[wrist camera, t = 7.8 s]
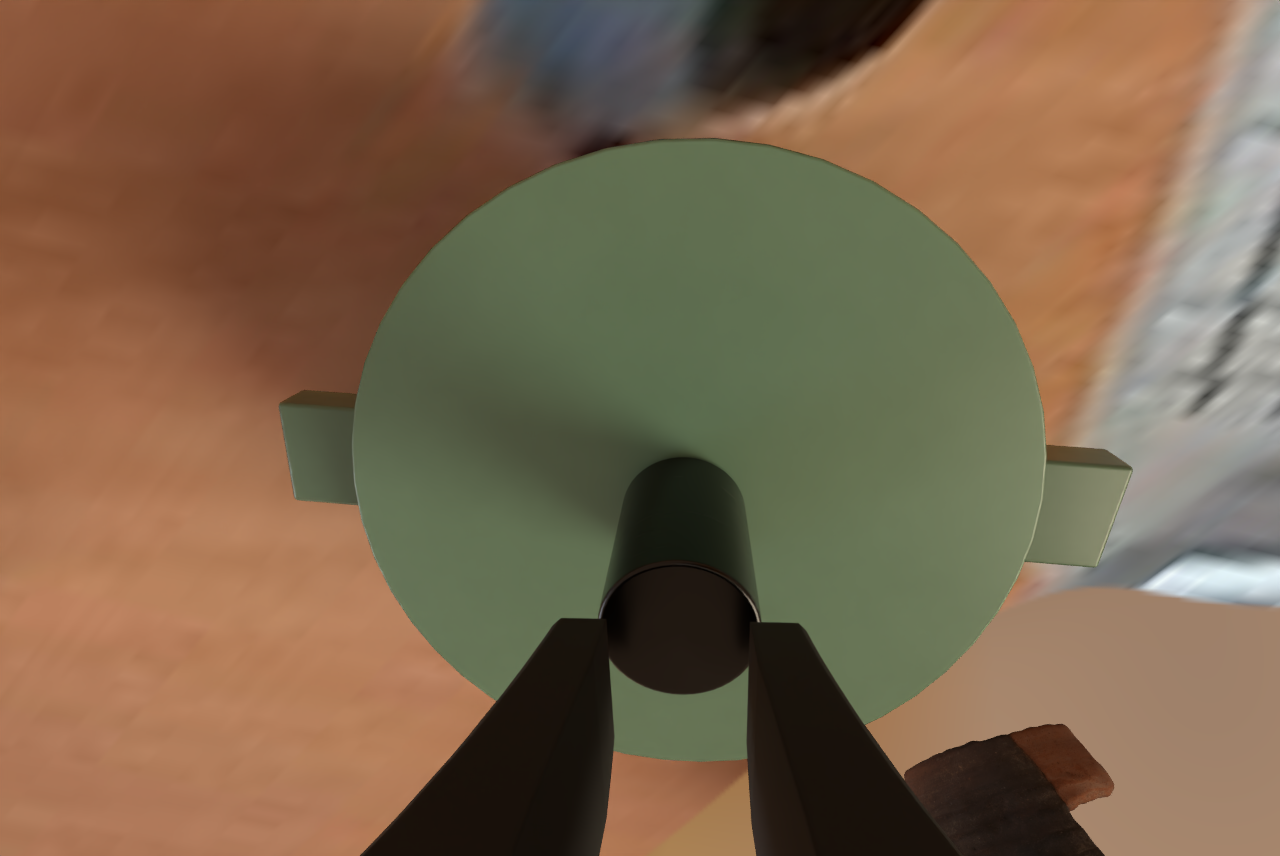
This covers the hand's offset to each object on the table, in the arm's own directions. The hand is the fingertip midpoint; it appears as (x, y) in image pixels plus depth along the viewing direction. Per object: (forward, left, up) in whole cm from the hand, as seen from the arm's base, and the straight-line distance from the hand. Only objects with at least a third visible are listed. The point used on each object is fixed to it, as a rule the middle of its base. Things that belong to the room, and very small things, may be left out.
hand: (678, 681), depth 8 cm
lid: (0, 0, -5) cm, 5 cm away
